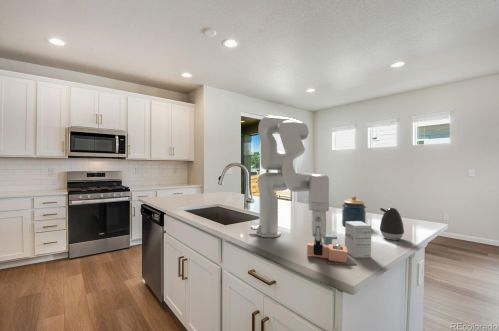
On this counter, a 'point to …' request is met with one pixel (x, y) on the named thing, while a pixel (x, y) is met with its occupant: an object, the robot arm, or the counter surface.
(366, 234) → the supplement box
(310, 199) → the robot arm
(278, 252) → the counter surface
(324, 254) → the link
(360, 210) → the canister
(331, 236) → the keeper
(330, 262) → the pintle station
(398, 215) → the pump dispenser
